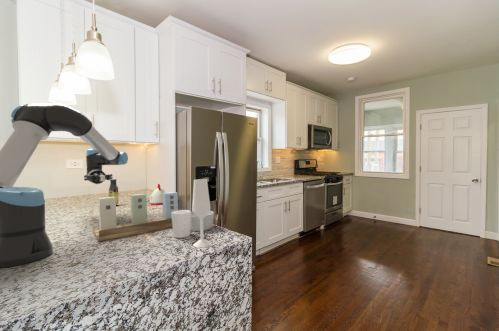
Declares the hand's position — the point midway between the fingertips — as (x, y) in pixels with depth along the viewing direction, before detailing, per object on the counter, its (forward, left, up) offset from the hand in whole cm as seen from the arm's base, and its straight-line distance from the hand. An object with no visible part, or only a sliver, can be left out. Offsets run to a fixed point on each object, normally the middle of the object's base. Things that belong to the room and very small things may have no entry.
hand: (103, 178), depth 113 cm
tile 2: (-7, -14, -22) cm, 27 cm away
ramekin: (-24, -39, -24) cm, 52 cm away
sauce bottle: (+69, -3, -24) cm, 73 cm away
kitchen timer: (+59, -33, -24) cm, 72 cm away
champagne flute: (-46, -33, -24) cm, 61 cm away
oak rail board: (-9, -15, -24) cm, 30 cm away
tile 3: (-10, -28, -22) cm, 37 cm away
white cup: (-31, -29, -24) cm, 49 cm away
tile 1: (-9, -2, -22) cm, 24 cm away
